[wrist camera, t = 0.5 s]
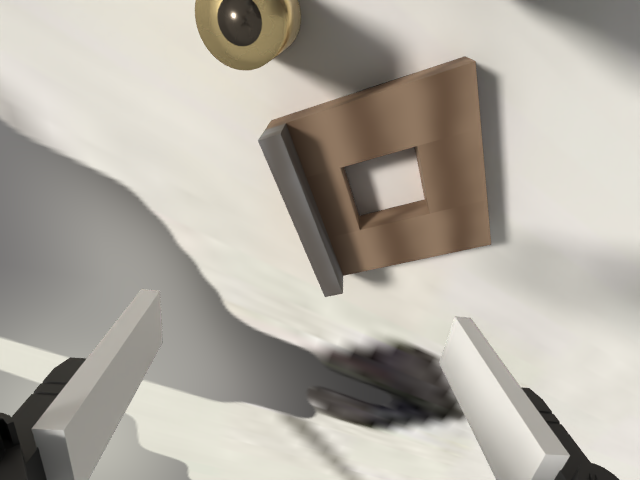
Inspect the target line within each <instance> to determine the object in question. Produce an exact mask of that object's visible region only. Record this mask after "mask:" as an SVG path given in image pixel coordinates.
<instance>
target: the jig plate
mask: <svg viewBox="0 0 640 480" xmlns="http://www.w3.org/2000/svg"><path fill="white" fill-rule="evenodd" d="M258 142H259V144H260V146H261V149H262V151H263V153H264V156H265V158H266V160H267V163H268V165H269V167H270V170H271V172H272V174H273V177H274V179H275V181H276V184H277V186H278V188H279V191H280V193H281V195H282V198H283V200H284V202H285V205H286V207H287V209H288V212H289V214H290V216H291V219H292V221H293V223H294V226H295V228H296V230H297V233H298V235H299V237H300V240H301V242H302V244H303V247H304V249H305V252H306V254H307V256H308V259H309V261H310V263H311V266H312V268H313V270H314V273H315V275H316V277H317V280H318V282H319V284H320V287H321V289H322V291H323V294H324V296H325V297H328V296H333V295H338V294H343V276H344V275H348V274H353V273H358V272H363V271H367V270H372V269H377V268H382V267H386V266H391V265H396V264H401V263H405V262H410V261H415V260H420V259H424V258H429V257H434V256H439V255H443V254H448V253H453V252H458V251H462V250H467V249H472V248H477V247H481V246H486V245H491V237H490V226H489V214H488V202H487V190H486V179H485V167H484V155H483V144H482V132H481V120H480V109H479V97H478V85H477V73H476V62H475V61H474V60H472V59H469V58H467V57H462V58H459V59H456V60H453V61H450V62H447V63H444V64H441V65H438V66H435V67H432V68H429V69H426V70H423V71H420V72H417V73H414V74H411V75H407V76H404V77H401V78H398V79H395V80H392V81H389V82H386V83H383V84H380V85H377V86H374V87H371V88H368V89H365V90H362V91H359V92H356V93H353V94H350V95H347V96H344V97H341V98H338V99H335V100H332V101H329V102H326V103H323V104H320V105H317V106H314V107H311V108H308V109H305V110H302V111H299V112H296V113H293V114H290V115H287V116H284V117H281V118H278V119H274V120H271V122H270V123H269V125H268V126H267V128H266V129H265V131H264V132H263V134H262V135H261V137H260V138H259V140H258ZM412 147H415V151H416V156H417V161H418V166H419V172H420V177H421V182H422V187H423V193H424V198H425V200H421V201H417V202H413V203H409V204H405V205H401V206H397V207H393V208H389V209H385V210H381V211H377V212H373V213H369V214H365V215H361V216H359V214H358V210H357V207H356V204H355V201H354V197H353V194H352V191H351V188H350V184H349V181H348V178H347V175H346V172H345V168H344V167H345V166H349V165H352V164H356V163H359V162H363V161H366V160H370V159H373V158H377V157H380V156H384V155H387V154H391V153H394V152H398V151H401V150H405V149H409V148H412Z"/></svg>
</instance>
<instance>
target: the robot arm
mask: <svg viewBox="0 0 640 480" xmlns="http://www.w3.org/2000/svg"><path fill="white" fill-rule="evenodd" d="M162 343H163V339H162V320H161V301H160V291H157V290H146V289H141V290H140V292H139V293H138V294H137V295H136V297H135V298H134V299H133V300H132V302H131V303H130V304H129V305H128V307H127V308H126V309H125V311H124V312H123V313H122V314H121V316H120V317H119V318H118V319H117V321H116V322H115V323H114V325H113V326H112V327H111V328H110V330H109V331H108V332H107V333H106V335H105V336H104V337H103V339H102V340H101V341H100V342H99V344H98V345H97V346H96V347H95V349H94V350H93V351H92V353H91V354H90V355H89V357H88V358H87V359H84V358H69V359H67V360H66V361H64V362H63V363H61V364H60V365H58V366H57V367H55V368H54V369H53V370H52V371H51V373H50V374H49V375H48V376H47V377H46V378H45V379H44V381H43V383H42V384H40V385H39V386H38V387H37V389H36V390H35V391H34V394H31V396H30V397H29V398H28V399H27V400H26V401H25V403H23V405H22V406H21V407H20V408H19V409H18V410H17V412H16V413H15V414H14V415H13V416H12V417H10V416H9V415H6V414H4V413H0V480H89V478H90V476H91V474H92V472H93V470H94V469H95V467H96V465H97V463H98V461H99V459H100V457H101V456H102V454H103V452H104V450H105V448H106V446H107V444H108V443H109V441H110V439H111V437H112V435H113V433H114V432H115V430H116V428H117V426H118V424H119V422H120V421H121V418H122V416H123V415H124V413H125V411H126V409H127V408H128V406H129V404H130V402H131V400H132V398H133V396H134V395H135V393H136V391H137V389H138V387H139V385H140V384H141V382H142V380H143V378H144V376H145V374H146V372H147V370H148V369H149V367H150V365H151V363H152V361H153V359H154V358H155V356H156V354H157V352H158V350H159V348H160V347H161V345H162ZM439 364H440V366H441V368H442V370H443V372H444V374H445V376H446V378H447V380H448V382H449V384H450V386H451V388H452V390H453V392H454V394H455V396H456V398H457V400H458V402H459V404H460V407H461V409H462V411H463V413H464V415H465V417H466V419H467V421H468V423H469V425H470V427H471V429H472V431H473V433H474V435H475V437H476V439H477V441H478V443H479V445H480V447H481V449H482V451H483V453H484V455H485V457H486V460H487V462H488V464H489V466H490V468H491V470H492V472H493V474H494V476H495V478H496V480H619V479H618V478H617V477H616V476H615V475H614V474H612V473H611V472H609V471H608V470H606V469H605V468H603V467H601V466H599V465H596V464H593V463H591V462H590V461H589V460H588V459H587V457H586V456H585V455H584V453H583V452H582V451H581V449H580V448H579V447H578V445H577V444H576V443H575V441H574V440H573V439H572V438H571V436H570V435H569V434H568V432H567V431H566V430H565V428H564V427H563V426H562V424H560V423H559V420H558V419H557V418H556V417H555V415H554V414H552V411H551V410H550V409H549V407H548V406H547V405H546V403H545V402H544V401H543V399H541V398H540V397H539V396H538V395H537V394H536V393H534V392H533V391H532V390H531V389H530V388H521V387H520V385H519V384H518V383H517V381H516V380H515V378H514V377H513V376H512V374H511V373H510V372H509V370H508V369H507V367H506V366H505V365H504V363H503V362H502V360H501V359H500V358H499V356H498V355H497V353H496V352H495V351H494V349H493V348H492V347H491V345H490V344H489V342H488V341H487V340H486V338H485V337H484V335H483V334H482V333H481V331H480V330H479V329H478V327H477V326H476V324H475V323H474V322H473V320H472V319H471V318H466V317H455V318H454V321H453V324H452V327H451V330H450V333H449V335H448V338H447V341H446V344H445V347H444V350H443V353H442V356H441V359H440V362H439Z"/></svg>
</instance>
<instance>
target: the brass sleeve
mask: <svg viewBox="0 0 640 480" xmlns="http://www.w3.org/2000/svg"><path fill="white" fill-rule="evenodd" d="M195 18H196V24H197V28H198V31H199V34H200V37H201V39H202V41H203V43H204V44H205V46H206V47H207V49H208V50H209V51H210V53H211V54H212V55H213V56H214V57H215V58H216V59H218V60H219V61H220V62H222V63H223V64H225V65H227V66H229V67H231V68H234V69H238V70H253V69H256V68H259V67H261V66H263V65H265V64H266V63H268V62H269V61H271V60H272V59H273V58H275V57H276V56H277V55H279V54H280V53H281V52H283V51H284V50H285V49H287V48H288V47H289V46H290V45H291V44H292V43H293V41H294V40H295V38H296V36H297V34H298V32H299V28H300V23H301V12H300V6H299V3H298V0H196V2H195Z"/></svg>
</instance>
